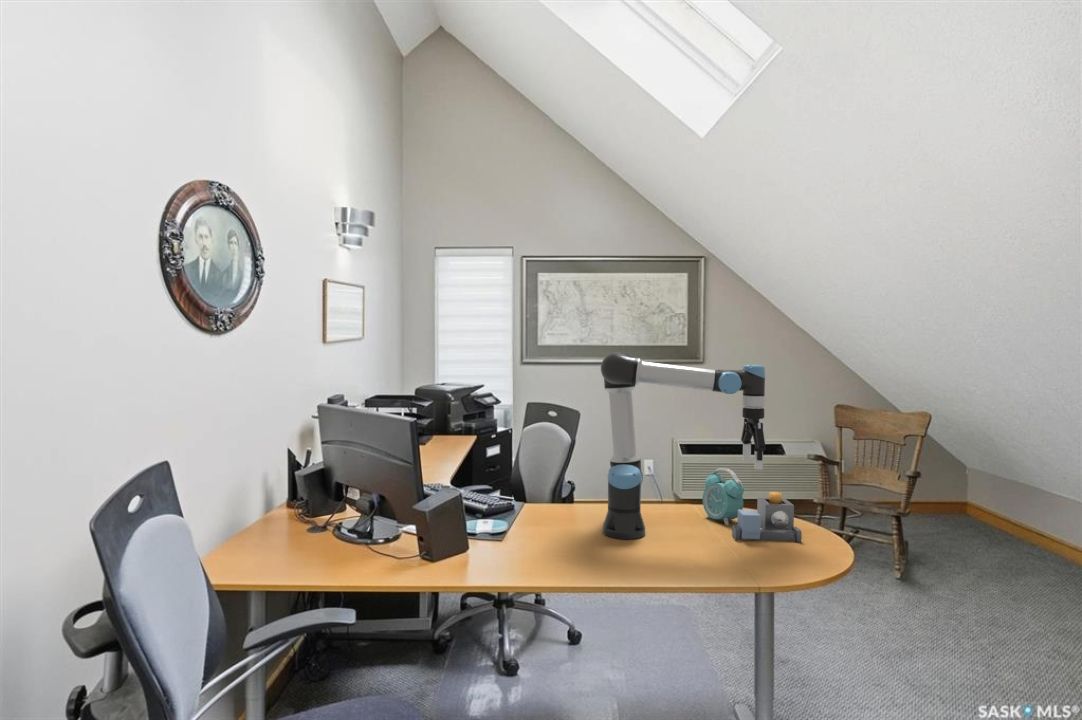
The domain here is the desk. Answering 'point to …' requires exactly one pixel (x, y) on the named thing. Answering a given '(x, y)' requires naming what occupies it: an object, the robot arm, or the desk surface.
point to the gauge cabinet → (776, 514)
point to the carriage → (749, 524)
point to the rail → (771, 535)
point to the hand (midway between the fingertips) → (752, 465)
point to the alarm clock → (723, 496)
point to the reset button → (775, 497)
